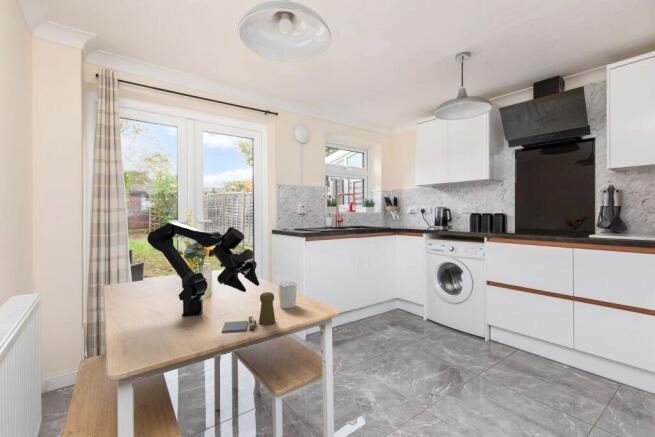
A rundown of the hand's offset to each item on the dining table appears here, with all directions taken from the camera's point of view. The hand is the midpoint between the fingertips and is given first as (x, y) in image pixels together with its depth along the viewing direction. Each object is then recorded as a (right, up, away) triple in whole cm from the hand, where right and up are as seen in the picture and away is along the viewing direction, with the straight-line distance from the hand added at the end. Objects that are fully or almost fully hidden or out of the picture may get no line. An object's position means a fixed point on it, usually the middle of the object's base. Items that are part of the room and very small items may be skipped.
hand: (252, 288), depth 112 cm
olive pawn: (+6, -12, -1) cm, 14 cm away
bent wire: (+1, -12, -4) cm, 13 cm away
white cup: (+11, -12, +17) cm, 24 cm away
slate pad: (-5, -12, -6) cm, 15 cm away
